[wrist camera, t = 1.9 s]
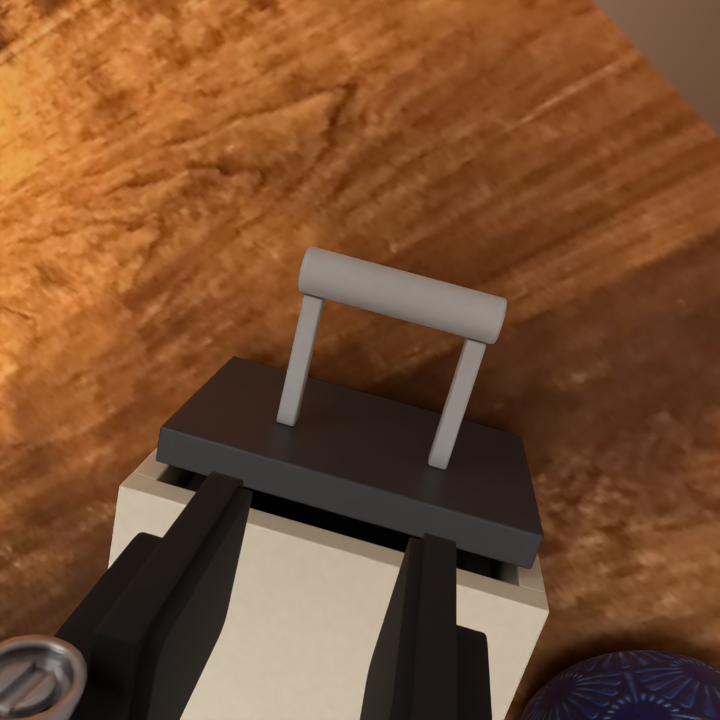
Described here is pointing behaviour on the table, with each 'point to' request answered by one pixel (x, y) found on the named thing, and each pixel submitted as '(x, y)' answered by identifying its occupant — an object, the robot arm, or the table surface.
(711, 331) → the table surface
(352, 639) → the cabinet
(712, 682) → the planter
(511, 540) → the drawer
